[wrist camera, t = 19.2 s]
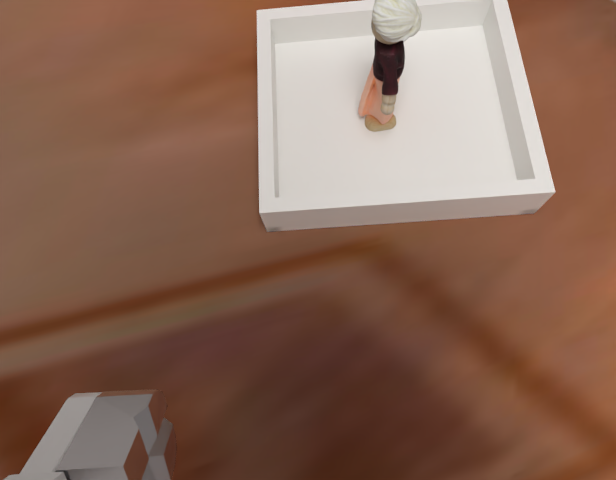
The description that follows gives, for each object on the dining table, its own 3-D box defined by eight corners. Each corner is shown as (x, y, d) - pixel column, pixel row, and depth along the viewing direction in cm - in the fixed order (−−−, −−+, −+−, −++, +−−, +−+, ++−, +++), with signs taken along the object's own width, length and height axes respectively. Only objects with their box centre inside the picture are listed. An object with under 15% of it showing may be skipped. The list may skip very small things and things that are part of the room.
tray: (267, 231, 39) (259, 213, 35) (263, 42, 46) (256, 10, 42) (534, 213, 38) (555, 192, 34) (490, 22, 45) (503, -13, 41)
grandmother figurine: (352, 82, 42) (355, -44, 31) (394, 77, 42) (414, -53, 30) (364, 156, 40) (373, 49, 28) (409, 150, 40) (437, 40, 28)
